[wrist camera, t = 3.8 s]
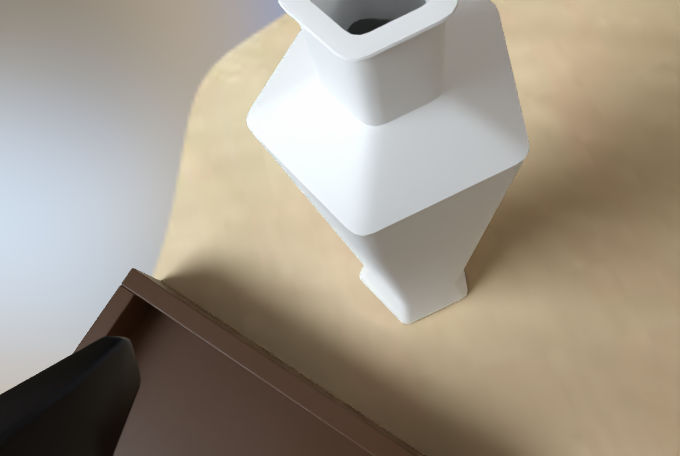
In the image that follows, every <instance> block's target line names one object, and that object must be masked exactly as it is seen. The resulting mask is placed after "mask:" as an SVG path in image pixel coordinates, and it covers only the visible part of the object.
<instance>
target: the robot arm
mask: <svg viewBox="0 0 680 456" xmlns="http://www.w3.org/2000/svg"><path fill="white" fill-rule="evenodd" d="M140 383H141V374H140V370H139V366H138V363H137V359H136V356H135V352H134V349H133V345H132V343H131V341H130V340H129V339H128V338H126V337H117V336H105V337H102V338H100V339H98V340H97V341H95V342H93V343H91V344H90V345H88V346H86V347H84V348H82V349H81V350H79V351H77V352H75V353H74V354H72V355H70V356H68V357H66V358H65V359H63V360H61V361H59V362H58V363H56V364H54V365H52V366H51V367H49V368H47V369H45V370H43V371H42V372H40V373H38V374H36V375H35V376H33V377H31V378H29V379H27V380H26V381H24V382H22V383H20V384H18V385H17V386H15V387H13V388H12V389H10V390H8V391H6V392H4V393H2V394H1V395H0V456H113V455H114V452H115V450H116V447H117V445H118V442H119V439H120V437H121V434H122V432H123V429H124V426H125V424H126V421H127V419H128V416H129V413H130V411H131V408H132V406H133V403H134V401H135V398H136V395H137V393H138V390H139V387H140Z"/></svg>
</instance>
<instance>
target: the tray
mask: <svg viewBox="0 0 680 456" xmlns="http://www.w3.org/2000/svg"><path fill="white" fill-rule="evenodd" d="M105 336H117V337H126V338H128V339H129V340H130V341H131V343H132V345H133V349H134V352H135V356H136V359H137V363H138V366H139V370H140V374H141V383H140V387H139V390H138V393H137V395H136V398H135V401H134V403H133V406H132V408H131V411H130V413H129V416H128V419H127V421H126V424H125V426H124V429H123V432H122V434H121V437H120V439H119V442H118V445H117V447H116V450H115V452H114V455H113V456H425V455H423V454H422V453H420V452H419V451H417V450H416V449H414V448H413V447H411V446H410V445H408V444H407V443H405V442H404V441H402V440H401V439H399V438H398V437H396V436H395V435H393V434H392V433H390V432H389V431H387V430H386V429H384V428H383V427H381V426H379V425H378V424H376V423H375V422H373V421H372V420H370V419H369V418H367V417H366V416H364V415H363V414H361V413H360V412H358V411H357V410H355V409H354V408H352V407H351V406H349V405H348V404H346V403H345V402H343V401H342V400H340V399H339V398H337V397H335V396H334V395H332V394H331V393H329V392H328V391H326V390H325V389H323V388H322V387H320V386H319V385H317V384H316V383H314V382H313V381H311V380H310V379H308V378H307V377H305V376H304V375H302V374H301V373H299V372H298V371H296V370H295V369H293V368H291V367H290V366H288V365H287V364H285V363H284V362H282V361H281V360H279V359H278V358H276V357H275V356H273V355H272V354H270V353H269V352H267V351H266V350H264V349H263V348H261V347H260V346H258V345H257V344H255V343H254V342H252V341H251V340H249V339H247V338H246V337H244V336H243V335H241V334H240V333H238V332H237V331H235V330H234V329H232V328H231V327H229V326H228V325H226V324H225V323H223V322H222V321H220V320H219V319H217V318H216V317H214V316H213V315H211V314H210V313H208V312H207V311H205V310H203V309H202V308H200V307H199V306H197V305H196V304H194V303H193V302H191V301H190V300H188V299H187V298H185V297H184V296H182V295H181V294H179V293H178V292H176V291H175V290H173V289H172V288H170V287H169V286H167V285H166V284H164V283H163V282H161V281H159V280H157V279H155V278H153V277H151V276H149V275H147V274H145V273H142V272H140V271H138V270H136V269H134V268H132V269H131V271H130V272H129V273H128V275H127V276H126V278H125V279H124V281H123V282H122V285H121V286H120V287H119V288H118V290H117V291H116V292H115V294H114V295H113V297H112V298H111V299H110V301H109V303H108V304H107V305H106V307H105V308H104V310H103V311H102V312H101V314H100V315H99V317H98V318H97V320H96V321H95V323H94V324H93V325H92V327H91V328H90V330H89V331H88V333H87V334H86V335H85V337H84V338H83V340H82V341H81V343H80V344H79V346H78V347H77V348H76V350H75V351H74V353H75V352H77V351H79V350H81V349H82V348H84V347H86V346H88V345H90V344H91V343H93V342H95V341H97V340H98V339H100V338H102V337H105ZM74 353H73V354H74Z"/></svg>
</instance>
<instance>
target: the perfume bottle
mask: <svg viewBox="0 0 680 456" xmlns="http://www.w3.org/2000/svg"><path fill="white" fill-rule="evenodd" d="M278 1H279V4H280V5H281V6H282V8H283V9H284V10H285V11H286V12H287V13H288V14H289V15H290V16H291V17H292V18H293V19H295V20H296V21H297V22H298V23H299V24H300V26H301V30H300V32H299V33H298V35H297V37H296V38H295V40H294V41H293V43H292V44H291V46H290V48H289V49H288V51H287V52H286V54H285V55H284V57H283V59H282V60H281V62H280V63H279V65H278V66H277V68H276V69H275V71H274V73H273V74H272V76H271V77H270V79H269V80H268V82H267V84H266V85H265V87H264V88H263V90H262V91H261V93H260V95H259V96H258V98H257V99H256V101H255V102H254V104H253V105H252V107H251V109H250V110H249V113H248V115H247V126H248V127H249V129H250V130H251V132H252V133H253V134H254V135H255V137H256V138H257V139H258V140H259V141H260V143H261V144H262V145H263V146H264V147H265V149H266V150H267V151H268V152H269V153H270V154H271V156H272V157H273V158H274V159H275V160H276V162H277V163H278V164H279V165H280V166H281V167H282V169H283V170H284V171H285V172H286V173H287V175H288V176H289V177H290V178H291V179H292V180H293V182H294V183H295V184H296V185H297V186H298V188H299V189H300V190H301V191H302V192H303V194H304V195H305V196H306V197H307V198H308V199H309V201H310V202H311V203H312V204H313V205H314V207H315V208H316V209H317V210H318V211H319V212H320V214H321V215H322V216H323V217H324V218H325V220H326V221H327V222H328V223H329V224H330V225H331V227H332V228H333V229H334V230H335V231H336V233H337V234H338V235H339V236H340V237H341V239H342V240H343V241H344V242H345V243H346V244H347V246H348V247H349V248H350V249H351V250H352V252H353V253H354V254H355V255H356V256H357V257H358V259H359V260H360V261H361V262H362V263H363V265H364V266H363V268H362V270H361V273H360V279H361V280H362V282H363V283H364V284H365V285H366V286H367V287H368V288H369V289H370V290H371V291H372V292H373V293H374V294H375V295H376V296H377V297H378V299H379V300H380V301H381V302H382V303H383V304H384V305H385V306H386V307H387V308H388V309H389V310H390V311H391V312H392V313H393V314H394V315H395V316H396V317H397V318H398V319H399V320H400V321H401V322H402V323H403V324H410V323H413V322H415V321H417V320H419V319H421V318H424V317H426V316H428V315H430V314H432V313H434V312H436V311H438V310H440V309H442V308H444V307H447V306H449V305H451V304H453V303H455V302H457V301H459V300H461V299H463V298H464V297H466V295H467V283H466V277H465V272H464V268H465V266H466V264H467V262H468V261H469V259H470V257H471V255H472V253H473V252H474V250H475V248H476V246H477V244H478V243H479V241H480V239H481V237H482V235H483V233H484V232H485V230H486V228H487V226H488V224H489V223H490V221H491V219H492V217H493V215H494V214H495V212H496V210H497V208H498V206H499V204H500V203H501V201H502V199H503V197H504V195H505V194H506V192H507V190H508V188H509V186H510V185H511V183H512V181H513V179H514V177H515V175H516V174H517V172H518V170H519V168H520V166H521V165H522V163H523V161H524V159H525V157H526V155H527V153H528V152H529V141H528V136H527V132H526V128H525V123H524V119H523V115H522V110H521V106H520V102H519V97H518V93H517V89H516V84H515V80H514V76H513V72H512V67H511V63H510V59H509V54H508V50H507V46H506V41H505V37H504V33H503V28H502V24H501V20H500V16H499V11H498V9H497V7H496V5H495V4H494V3H493V2H491V1H490V0H278Z"/></svg>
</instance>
